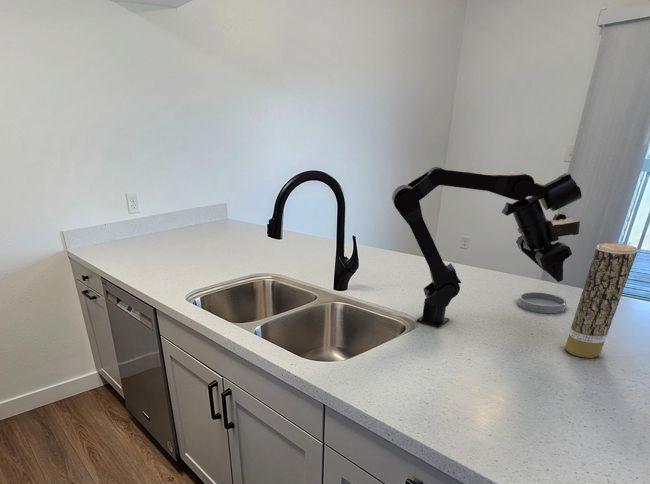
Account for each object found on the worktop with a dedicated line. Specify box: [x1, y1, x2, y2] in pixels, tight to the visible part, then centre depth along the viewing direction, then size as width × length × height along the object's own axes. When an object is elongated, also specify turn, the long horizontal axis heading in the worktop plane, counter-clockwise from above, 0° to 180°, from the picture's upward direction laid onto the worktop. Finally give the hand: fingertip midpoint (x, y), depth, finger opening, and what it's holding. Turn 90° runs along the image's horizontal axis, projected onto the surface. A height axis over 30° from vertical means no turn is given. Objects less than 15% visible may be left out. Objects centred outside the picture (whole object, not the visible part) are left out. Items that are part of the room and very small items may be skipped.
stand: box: [517, 291, 567, 314], centre depth 127 cm, size 12×12×2 cm
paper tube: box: [564, 242, 639, 359], centre depth 97 cm, size 7×7×25 cm
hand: (553, 275), depth 110 cm, fingers open, 9 cm apart
